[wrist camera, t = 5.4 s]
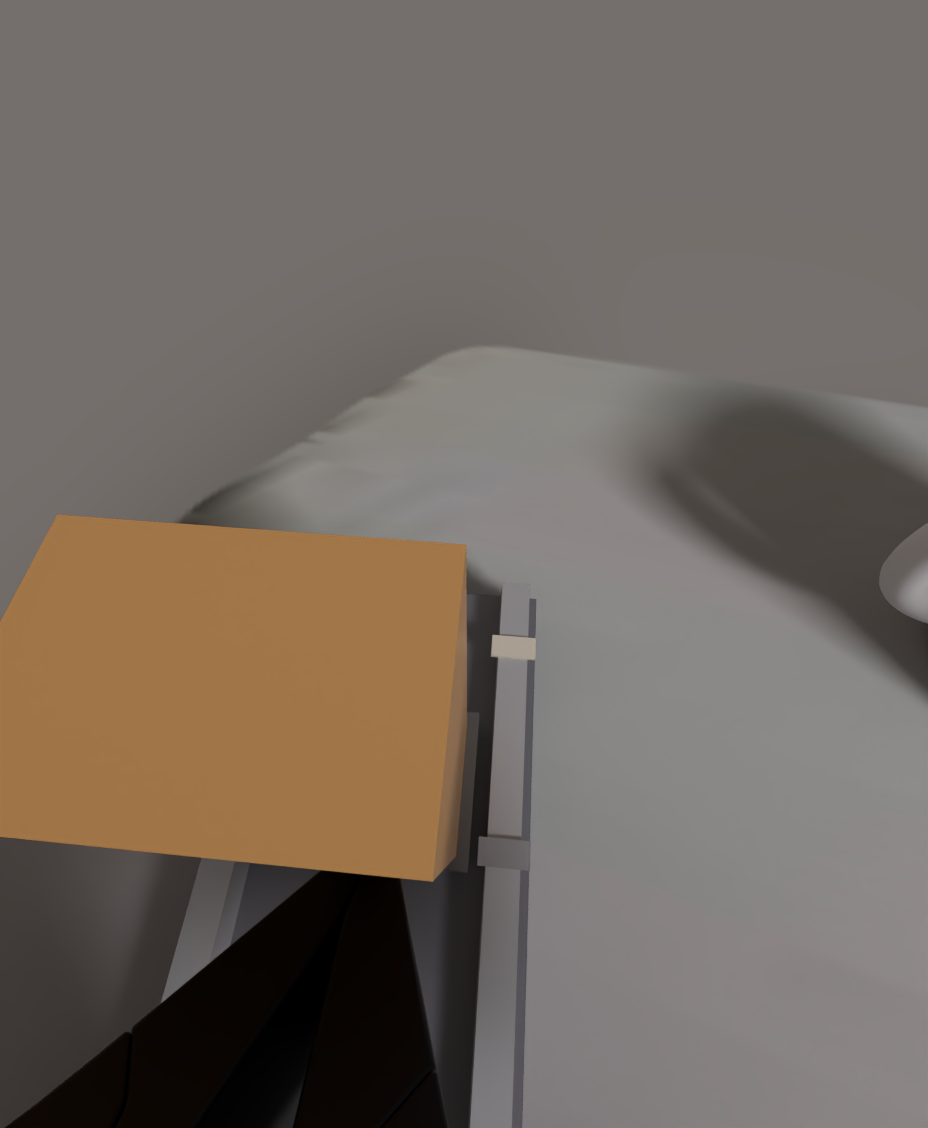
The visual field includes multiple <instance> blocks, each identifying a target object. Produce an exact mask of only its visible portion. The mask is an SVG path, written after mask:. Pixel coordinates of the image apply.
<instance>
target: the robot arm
mask: <svg viewBox="0 0 928 1128" xmlns="http://www.w3.org/2000/svg"><path fill="white" fill-rule="evenodd" d="M436 1070H437V1067H436V1062H435V1057H434V1051H433V1046H432V1041H431V1036H430V1030H429V1025H428V1020H427V1015H426V1009H425V1004H424V999H423V994H422V988H421V983H420V978H419V973H418V967H417V962H416V957H415V952H414V946H413V941H412V936H411V931H410V925H409V920H408V915H407V910H406V904H405V899H404V894H403V889H402V883H401V878H393V877H383V876H373V875H364V874H354V873H344V872H335V871H325V870H320V871H319V872H318V873H317V874H316V875H314V876H313V877H312V878H311V879H310V880H308V881H307V882H306V883H305V884H304V885H302V886H301V887H300V888H299V889H298V890H296V891H295V892H294V893H293V894H292V895H290V896H289V897H288V898H287V899H286V900H284V901H283V902H282V903H281V904H280V905H278V906H277V907H276V908H275V909H274V910H272V911H271V912H270V913H269V914H268V915H266V916H265V917H264V918H263V919H262V920H260V921H259V922H258V923H257V924H256V925H254V926H253V927H252V928H251V929H250V930H248V931H247V932H246V933H245V934H244V935H242V936H241V937H240V938H239V939H238V940H236V941H235V942H234V943H233V944H232V945H230V946H229V947H228V948H227V949H226V950H224V951H223V952H222V953H221V954H220V955H218V956H217V957H216V958H215V959H214V960H212V961H211V962H210V963H209V964H208V965H206V966H205V967H204V968H203V969H202V970H200V971H199V972H198V973H197V974H196V975H194V976H193V977H192V978H191V979H190V980H188V981H187V982H186V983H185V984H184V985H182V986H181V987H180V988H179V989H178V990H176V991H175V992H174V993H173V994H172V995H170V996H169V997H168V998H167V999H166V1000H164V1001H163V1002H162V1003H161V1004H160V1005H158V1006H157V1007H156V1008H155V1009H154V1010H152V1011H151V1012H150V1013H149V1014H148V1015H146V1016H145V1017H144V1018H143V1019H142V1020H140V1021H139V1022H138V1023H137V1024H136V1025H134V1026H133V1028H132V1032H131V1033H130V1032H125V1033H123V1034H122V1035H121V1036H120V1037H118V1038H117V1039H116V1040H115V1041H114V1042H112V1043H111V1044H110V1045H109V1046H108V1047H106V1048H105V1049H104V1050H103V1051H102V1052H100V1053H99V1054H98V1055H97V1056H95V1057H94V1058H93V1059H92V1060H91V1061H89V1062H88V1063H87V1064H86V1065H84V1066H83V1067H82V1068H81V1069H79V1070H78V1071H77V1072H76V1073H74V1074H73V1075H72V1076H71V1077H69V1078H68V1079H67V1080H66V1081H64V1082H63V1083H62V1084H61V1085H59V1086H58V1087H57V1088H56V1089H54V1090H53V1091H52V1092H51V1093H49V1094H48V1095H47V1096H46V1097H44V1098H43V1099H42V1100H41V1101H39V1102H38V1103H37V1104H36V1105H34V1106H33V1107H32V1108H30V1109H29V1110H28V1111H26V1112H25V1113H24V1114H22V1115H21V1116H20V1117H18V1118H17V1119H16V1120H14V1121H13V1122H12V1123H10V1124H9V1125H8V1126H6V1127H5V1128H449V1124H448V1120H447V1115H446V1111H445V1106H444V1100H443V1095H442V1090H441V1084H440V1079H439V1075H438V1073H437V1072H436Z"/></svg>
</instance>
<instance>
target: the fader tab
mask: <svg viewBox="0 0 928 1128" xmlns="http://www.w3.org/2000/svg"><path fill="white" fill-rule="evenodd" d="M479 714H480V713H476V712H467V587H466V545H464V544H450V543H437V542H423V541H409V540H396V539H382V538H369V537H355V536H342V535H328V534H315V533H301V532H287V531H274V530H260V529H247V528H233V527H220V526H206V525H193V524H179V523H165V522H152V521H138V520H125V519H111V518H98V517H84V516H71V515H57V516H56V518H55V520H54V522H53V524H52V525H51V528H50V529H49V531H48V533H47V535H46V537H45V539H44V541H43V543H42V544H41V546H40V548H39V550H38V552H37V554H36V556H35V557H34V559H33V561H32V563H31V565H30V567H29V569H28V571H27V573H26V575H25V576H24V578H23V580H22V582H21V584H20V586H19V587H18V589H17V591H16V593H15V595H14V597H13V599H12V601H11V602H10V604H9V606H8V608H7V610H6V612H5V614H4V616H3V618H2V619H1V621H0V837H7V838H17V839H27V840H36V841H46V842H56V843H65V844H75V845H84V846H94V847H104V848H113V849H123V850H133V851H142V852H152V853H162V854H171V855H181V856H190V857H200V858H210V859H219V860H229V861H239V862H248V863H258V864H267V865H277V866H287V867H296V868H306V869H316V870H325V871H335V872H344V873H354V874H364V875H373V876H383V877H393V878H402V879H412V880H422V881H431V882H433V881H434V880H435V879H436V878H437V876H438V875H439V874H440V873H441V872H442V871H443V870H447V871H457V872H467V873H468V863H469V850H470V836H471V822H472V809H473V795H474V782H475V768H476V754H477V741H478V727H479Z"/></svg>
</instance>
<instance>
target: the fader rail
mask: <svg viewBox="0 0 928 1128" xmlns="http://www.w3.org/2000/svg"><path fill="white" fill-rule="evenodd" d="M529 598H530V584H518V583H505V582H503V584H502V592H501V596H490V595H477V594H467V712H476V713H480V714H479V727H478V741H477V754H476V768H475V782H474V795H473V809H472V822H471V836H470V850H469V863H468V873H467V872H457V871H447V870H443V871H442V872H441V873H440V874H439V875H438V876H437V878H436V879H435V880H434V881H433V882H431V881H422V880H412V879H402V878H401V883H402V889H403V894H404V899H405V904H406V910H407V915H408V920H409V925H410V931H411V936H412V941H413V946H414V952H415V957H416V962H417V967H418V973H419V978H420V983H421V988H422V994H423V999H424V1004H425V1009H426V1015H427V1020H428V1025H429V1030H430V1036H431V1041H432V1046H433V1051H434V1057H435V1062H436V1067H437V1070H436V1072H437V1073H438V1075H439V1079H440V1084H441V1090H442V1095H443V1100H444V1106H445V1111H446V1115H447V1120H448V1124H449V1128H522V1111H523V1074H524V1037H525V999H526V962H527V925H528V888H529V871H530V814H531V777H532V739H533V702H534V665H535V650H536V638H535V628H536V599H529ZM319 871H320V870H316V869H306V868H296V867H287V866H277V865H267V864H258V863H248V862H239V861H229V860H219V859H210V858H201V861H200V865H199V868H198V872H197V875H196V879H195V883H194V886H193V890H192V893H191V897H190V900H189V904H188V907H187V911H186V915H185V918H184V922H183V925H182V929H181V932H180V936H179V940H178V943H177V947H176V950H175V954H174V957H173V961H172V965H171V968H170V972H169V975H168V979H167V982H166V986H165V990H164V993H163V997H162V1000H161V1003H162V1002H163V1001H164V1000H166V999H167V998H168V997H169V996H170V995H172V994H173V993H174V992H175V991H176V990H178V989H179V988H180V987H181V986H182V985H184V984H185V983H186V982H187V981H188V980H190V979H191V978H192V977H193V976H194V975H196V974H197V973H198V972H199V971H200V970H202V969H203V968H204V967H205V966H206V965H208V964H209V963H210V962H211V961H212V960H214V959H215V958H216V957H217V956H218V955H220V954H221V953H222V952H223V951H224V950H226V949H227V948H228V947H229V946H230V945H232V944H233V943H234V942H235V941H236V940H238V939H239V938H240V937H241V936H242V935H244V934H245V933H246V932H247V931H248V930H250V929H251V928H252V927H253V926H254V925H256V924H257V923H258V922H259V921H260V920H262V919H263V918H264V917H265V916H266V915H268V914H269V913H270V912H271V911H272V910H274V909H275V908H276V907H277V906H278V905H280V904H281V903H282V902H283V901H284V900H286V899H287V898H288V897H289V896H290V895H292V894H293V893H294V892H295V891H296V890H298V889H299V888H300V887H301V886H302V885H304V884H305V883H306V882H307V881H308V880H310V879H311V878H312V877H313V876H314V875H316V874H317V873H318V872H319Z"/></svg>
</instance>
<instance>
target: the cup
mask: <svg viewBox="0 0 928 1128" xmlns="http://www.w3.org/2000/svg"><path fill="white" fill-rule="evenodd" d="M879 586H880V590H881V592H882V594H883V596H884V597H885V599H886V600H887V601H888V602H889V603H890V604H891V605H892V606H893V607H894V608H895V609H897V610H898V611H900V612H901V613H903V614H905V615H907V616H909V617H911V618H913V619H916V620H918V621H921V622H924V623H927V624H928V523H926V524H925V525H923V526H922V527H920V528H919V529H918V530H916V531H915V532H914V533H912V534H911V535H910V536H909V537H907V538H906V539H905V540H904V541H903V542H901V543H900V544H899V545H898V546H897V547H896V548H895V549H894V551H893V552H892V553H891V554H890V556H889V557H888V558H887V560H886V561H885V562H884V564H883V566H882V568H881V571H880V577H879Z"/></svg>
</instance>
